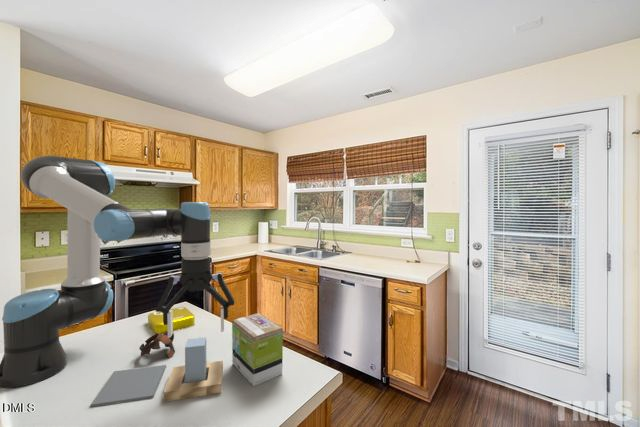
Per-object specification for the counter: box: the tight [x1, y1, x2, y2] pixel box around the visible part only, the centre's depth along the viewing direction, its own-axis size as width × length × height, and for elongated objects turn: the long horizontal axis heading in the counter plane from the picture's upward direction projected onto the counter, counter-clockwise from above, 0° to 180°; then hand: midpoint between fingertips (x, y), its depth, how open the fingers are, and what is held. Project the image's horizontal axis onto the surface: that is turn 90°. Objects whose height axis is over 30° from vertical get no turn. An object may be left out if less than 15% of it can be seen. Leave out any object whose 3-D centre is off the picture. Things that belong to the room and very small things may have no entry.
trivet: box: [89, 364, 167, 408], centre depth 83 cm, size 14×15×1 cm
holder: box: [163, 360, 224, 402], centre depth 83 cm, size 14×12×2 cm
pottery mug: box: [139, 331, 176, 359], centre depth 100 cm, size 12×10×8 cm
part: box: [184, 336, 207, 383], centre depth 83 cm, size 5×5×12 cm
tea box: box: [231, 312, 284, 387], centre depth 91 cm, size 15×10×15 cm, turn 40°
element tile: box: [147, 306, 195, 335], centre depth 123 cm, size 15×15×5 cm
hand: (196, 332), depth 83 cm, fingers open, 13 cm apart
